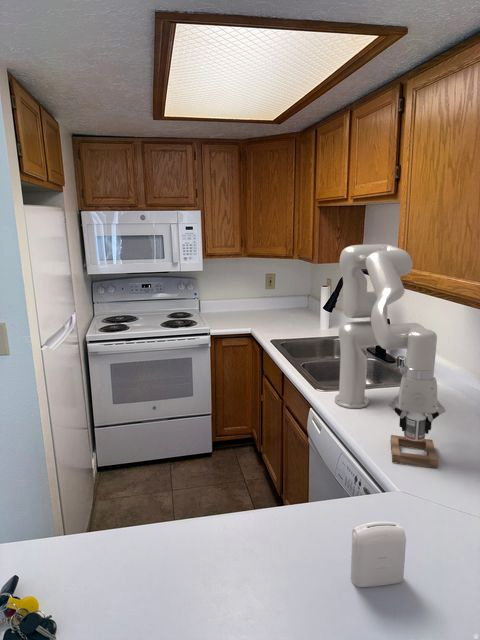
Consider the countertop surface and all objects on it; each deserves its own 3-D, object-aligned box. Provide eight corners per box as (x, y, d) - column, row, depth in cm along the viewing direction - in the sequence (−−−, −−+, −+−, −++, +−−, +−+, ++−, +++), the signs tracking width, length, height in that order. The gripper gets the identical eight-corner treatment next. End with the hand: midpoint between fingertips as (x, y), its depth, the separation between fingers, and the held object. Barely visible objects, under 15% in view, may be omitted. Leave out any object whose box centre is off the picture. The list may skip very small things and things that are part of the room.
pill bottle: (421, 432, 129) (423, 402, 126) (427, 442, 123) (430, 410, 121) (401, 432, 129) (403, 401, 127) (406, 441, 124) (409, 410, 122)
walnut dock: (390, 442, 135) (390, 434, 134) (431, 447, 132) (432, 439, 131) (392, 462, 124) (392, 454, 123) (437, 468, 120) (438, 460, 120)
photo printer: (354, 590, 82) (357, 534, 79) (347, 572, 86) (349, 519, 83) (406, 585, 83) (411, 530, 80) (396, 567, 87) (400, 514, 84)
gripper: (387, 374, 121) (384, 433, 125) (455, 379, 116) (448, 440, 120) (386, 365, 128) (383, 421, 132) (450, 370, 123) (444, 428, 127)
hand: (414, 430), depth 126 cm, fingers closed on pill bottle, 5 cm apart
